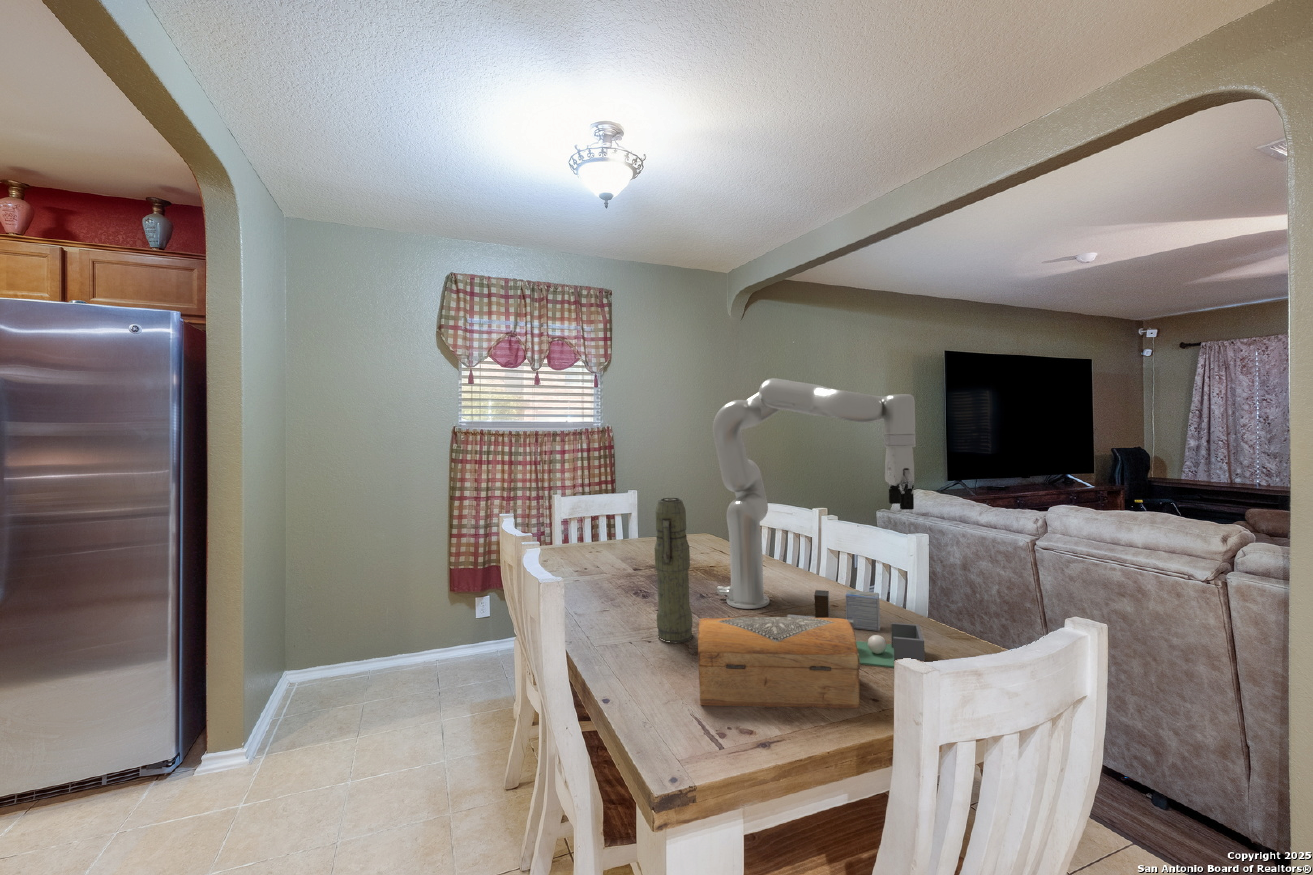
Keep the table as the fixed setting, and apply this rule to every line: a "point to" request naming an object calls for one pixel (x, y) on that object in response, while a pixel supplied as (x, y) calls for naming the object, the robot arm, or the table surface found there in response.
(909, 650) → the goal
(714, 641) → the wooden box
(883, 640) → the ball
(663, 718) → the table surface
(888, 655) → the pitch mat
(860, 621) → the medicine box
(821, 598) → the grey brown blocky piece
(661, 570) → the thermos
